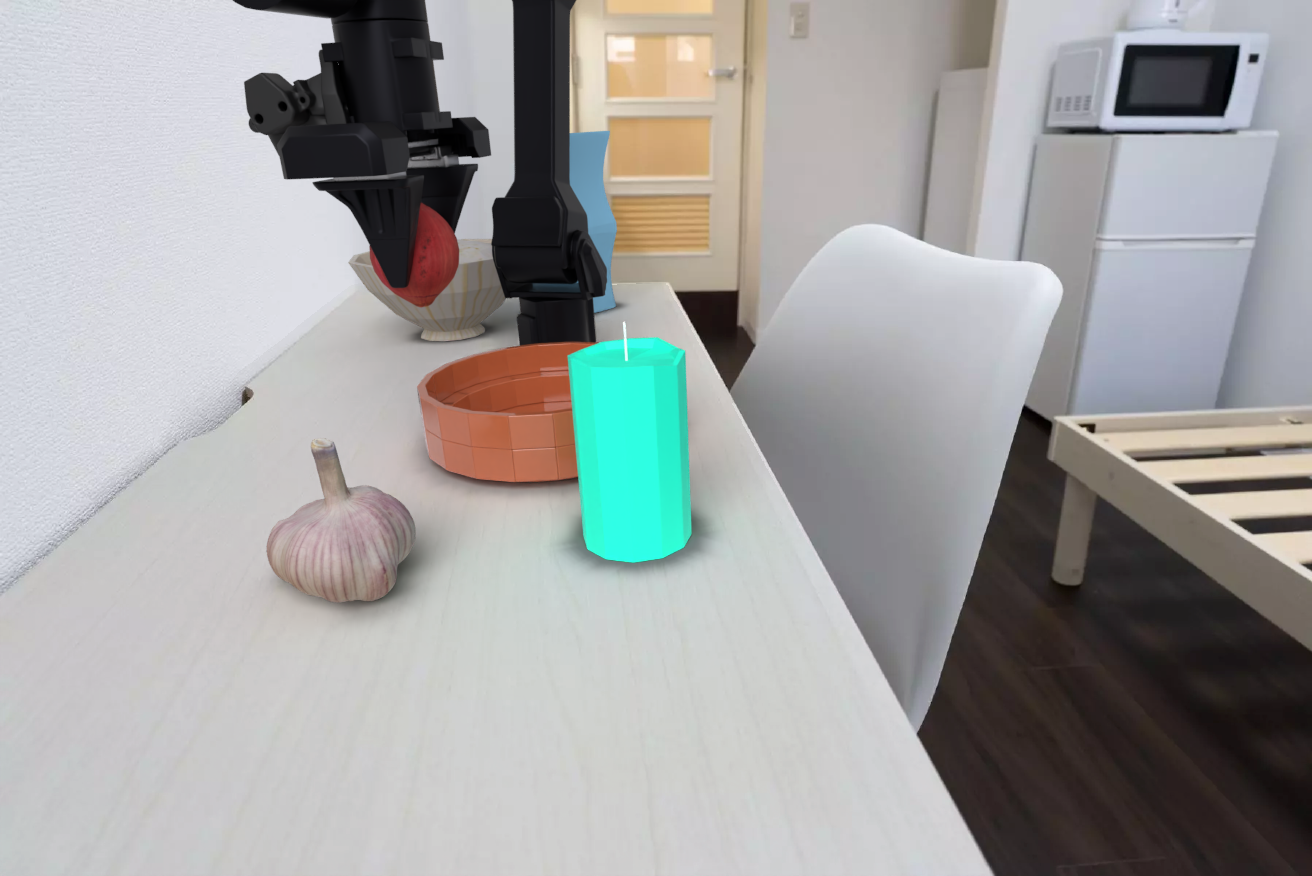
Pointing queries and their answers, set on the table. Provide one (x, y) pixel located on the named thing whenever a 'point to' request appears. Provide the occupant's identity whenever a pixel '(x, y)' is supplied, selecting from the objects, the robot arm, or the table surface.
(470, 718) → the table surface
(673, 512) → the candle
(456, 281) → the bowl
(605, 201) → the vase
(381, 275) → the onion
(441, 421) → the terracotta bowl
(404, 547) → the garlic bulb
